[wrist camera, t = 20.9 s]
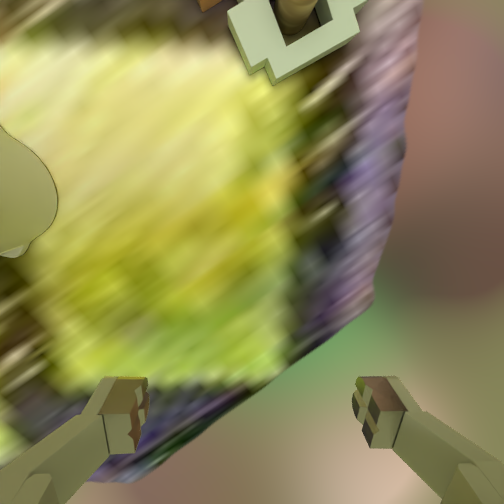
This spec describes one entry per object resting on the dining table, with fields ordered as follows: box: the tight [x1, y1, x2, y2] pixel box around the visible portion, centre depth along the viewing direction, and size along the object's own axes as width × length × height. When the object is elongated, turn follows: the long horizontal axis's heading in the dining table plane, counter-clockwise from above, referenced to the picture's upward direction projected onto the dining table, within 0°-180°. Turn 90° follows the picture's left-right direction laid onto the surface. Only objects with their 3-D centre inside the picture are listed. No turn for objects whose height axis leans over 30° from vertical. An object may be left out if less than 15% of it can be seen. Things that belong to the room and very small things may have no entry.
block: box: [227, 0, 368, 86], centre depth 30 cm, size 10×14×4 cm
